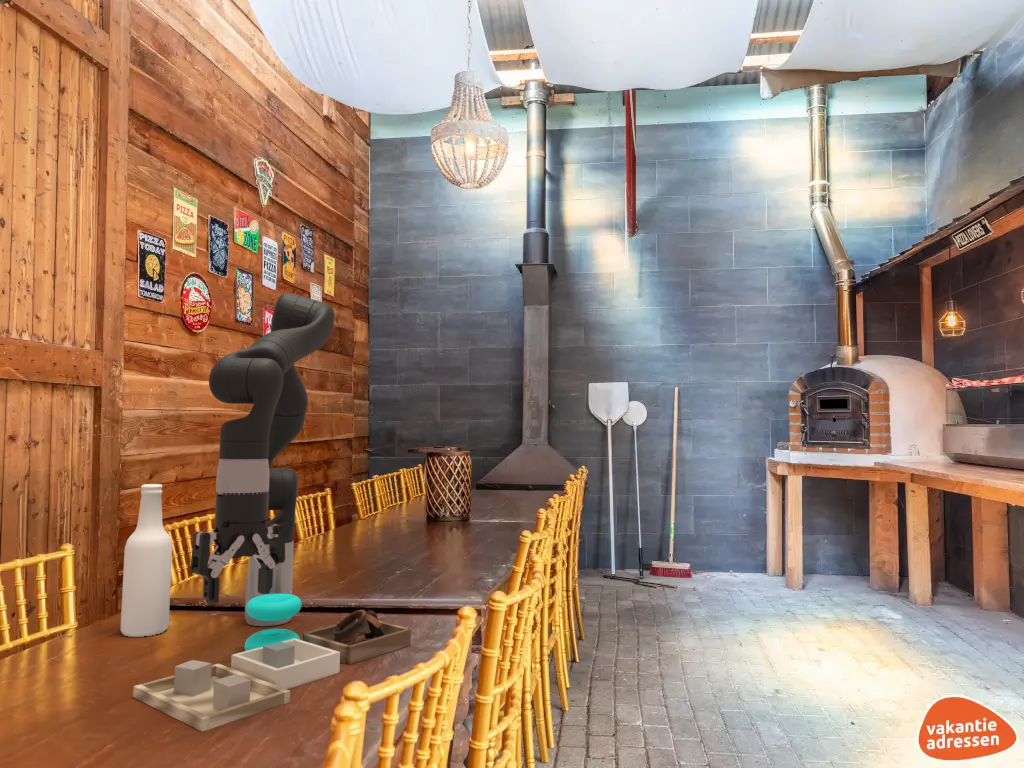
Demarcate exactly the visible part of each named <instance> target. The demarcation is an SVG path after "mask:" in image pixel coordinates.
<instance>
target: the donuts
mask: <svg viewBox="0 0 1024 768" xmlns="http://www.w3.org/2000/svg"><path fill="white" fill-rule="evenodd" d="M301 609H302V600H301V598H299V596H297V595H296V594H295V595H294V594H292V595H291V594H266V595H261V596H257V597H254V598H252V599H251V600H250V601H249V602H248V603H247V606H246V611H247V613H248V614H249V615H250V616H251V617H252V618H254V619H257V620H262V621H277V620H283V619H287V618H290V617H291V618H292V617H294V616H295V615H297V614H298V613H299V612H300V610H301ZM294 638H296V639H299V640H301V637H300V636H299V635H298V634H297V633H296V632H295V631H294V630H290V629H286V628H268V629H262V630H259V631H256V632H254V633H253V634H251V635H250V636H249V637H247V638H246V640H245V643H244V651H248V650H252V649H256V648H260V647H263V646H266V645H269V644H273V643H277V642H283V641H287V640H290V639H294Z"/></svg>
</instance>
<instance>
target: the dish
mask: <svg viewBox="0 0 1024 768" xmlns="http://www.w3.org/2000/svg"><path fill="white" fill-rule="evenodd" d="M283 642H284V643H287V644H290V645H293V646H295V650H294V664H292V665H288V666H285V667H281V668H278V669H277V668H275V667H272V666H269V665H266V664H263V647H260V648H256V649H252V650H248V651H246V650H244V651H241V652H238V653H232V654H231V657H230V658H231V661H230V662H231V664H230V668H232V669H234V670H237V671H239V672H242V673H245V674H247V675H250V676H253V677H255V678H258V679H260V680H263V681H266V682H268V683H271V684H274V685H276V686H279V687H281V688H284V689H287V690H290V689H293V688H296V687H299V686H302V685H306V684H308V683H309V684H310V683H312V682H315V681H318V680H321V679H324V678H327V677H330V676H335V675H336V674H337V675H338V674H340V670H341V669H340V667H341V664H340V652H338V651H335V650H332V649H328V648H325V647H322V646H319V645H315V644H312V643H309V642H306V641H303V639H300V640H299V639H296V638H294V639H290V640H287V641H283Z"/></svg>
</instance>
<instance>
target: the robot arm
mask: <svg viewBox="0 0 1024 768" xmlns="http://www.w3.org/2000/svg"><path fill="white" fill-rule="evenodd" d="M334 323H335V310H334V309H333V307H332V306H331V305H330V304H327V303H326V302H323V301H318V300H316V299H312V298H310V297H307V296H304V295H300V294H296V293H294V292H293V293H292V292H284V293H282V294H281V295H280V296H279V297H278V298H277V301H276V302H275V305H274V308H273V313H272V317H271V324H270V332H268V333H265V334H264V335H262V336H260V337H259V338H258V339H257V340H256V341H254V342H253V344H251V346H248V347H246V348H245V347H244V348H241V349H238V350H237V351H233V352H231V353H228V354H226V355H224V356H223V357H220V359H218V360H217V361H216V362H215V363H214V365H213V367H212V368H211V370H210V373H209V376H208V386H209V390H210V392H211V394H212V396H213V397H214V398H215V399H216V400H218V401H219V402H222V403H224V404H233V405H234V404H235V405H236V404H243V405H245V404H248V405H252V404H253V405H252V407H251V409H250V412H249V413H248V414H247V415H246V416H243V417H240V418H236V419H235V418H234V419H230V420H227V421H225V422H224V423H222V425H221V427H220V431H219V432H220V433H219V452H218V453H219V454H218V455H219V457H218V458H219V459H218V466H217V472H216V484H215V486H216V487H215V505H214V506H215V508H214V510H215V511H214V519H215V520H214V521H215V528H214V531H210V532H209V531H207V532H206V531H195V532H194V534H193V537H192V538H193V539H192V549H191V559H190V560H191V561H190V569H189V571H190V573H192V574H194V575H200V576H201V577H202V578H203V589H202V597H203V600H205V602H206V604H210V605H216V604H218V603H219V599H220V580H221V579H220V577H218V576H219V575H220V573H221V572H222V570H223V569H224V567H225V566H226V565H228V564H229V563H230V562H231V560H232V559H240V558H242V557H247V558H248V575H247V576H246V578H245V600H244V601H245V603H244V604H245V605H244V620H245V621H246V623H247V624H248V625H250V626H255V627H272V626H279V625H283V624H286V623H289V622H290V621H291V620H292V617H290V618H287V619H283V620H277V621H262V620H257V619H254V618H252V617H251V616H250V615H249V614H248V613H247V611H246V606H247V603H248V602H249V601H250V600H251V599H252V598H254V597H257V596H261V595H266V594H291V595H293V573H294V571H293V570H294V547H295V546H294V545H295V543H294V542H295V539H294V537H295V527H296V526H295V525H296V524H295V523H296V510H297V509H296V508H297V497H298V476H297V473H296V471H295V470H294V469H293V468H291V467H270V466H271V464H272V463H273V461H274V459H276V457H277V456H278V455H279V454H280V453H281V452H282V451H283V450H284V449H285V448H286V447H288V445H289V444H290V443H292V442H293V440H294V439H295V438H297V436H298V435H299V433H300V432H301V431H302V429H303V426H304V422H305V419H306V415H307V410H308V403H309V401H308V400H309V398H308V393H307V389H306V388H305V387H306V386H305V385H304V383H303V381H302V378H301V375H300V374H299V372H298V371H297V369H296V366H295V363H297V362H298V361H300V360H302V359H303V358H305V357H307V356H309V355H311V354H313V353H315V352H316V351H319V350H320V349H322V347H324V345H325V344H326V343H327V342H328V341H329V339H330V337H331V334H332V332H333V330H334V329H333V328H334V325H335V324H334ZM269 511H277V514H276V515H275V516H274V517H273V518H271V519H270V520H269V521H267V519H268V518H269ZM213 542H214V543H215V544H216V546H215V548H214V549H213V551H212V552H211V553H210V547H211V546H213Z"/></svg>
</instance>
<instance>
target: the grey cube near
mask: <svg viewBox="0 0 1024 768" xmlns="http://www.w3.org/2000/svg"><path fill="white" fill-rule="evenodd" d="M250 682H251V680H249V679H246V678H244V677H241V676H238V675H236V674H235V675H232V676H228V677H225V678H221V679H218V680H214V691H213V709H216V710H218V711H221V710H224V709H227V708H230V707H233V706H236V705H239V704H243V703H246V702H249V701H250Z"/></svg>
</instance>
